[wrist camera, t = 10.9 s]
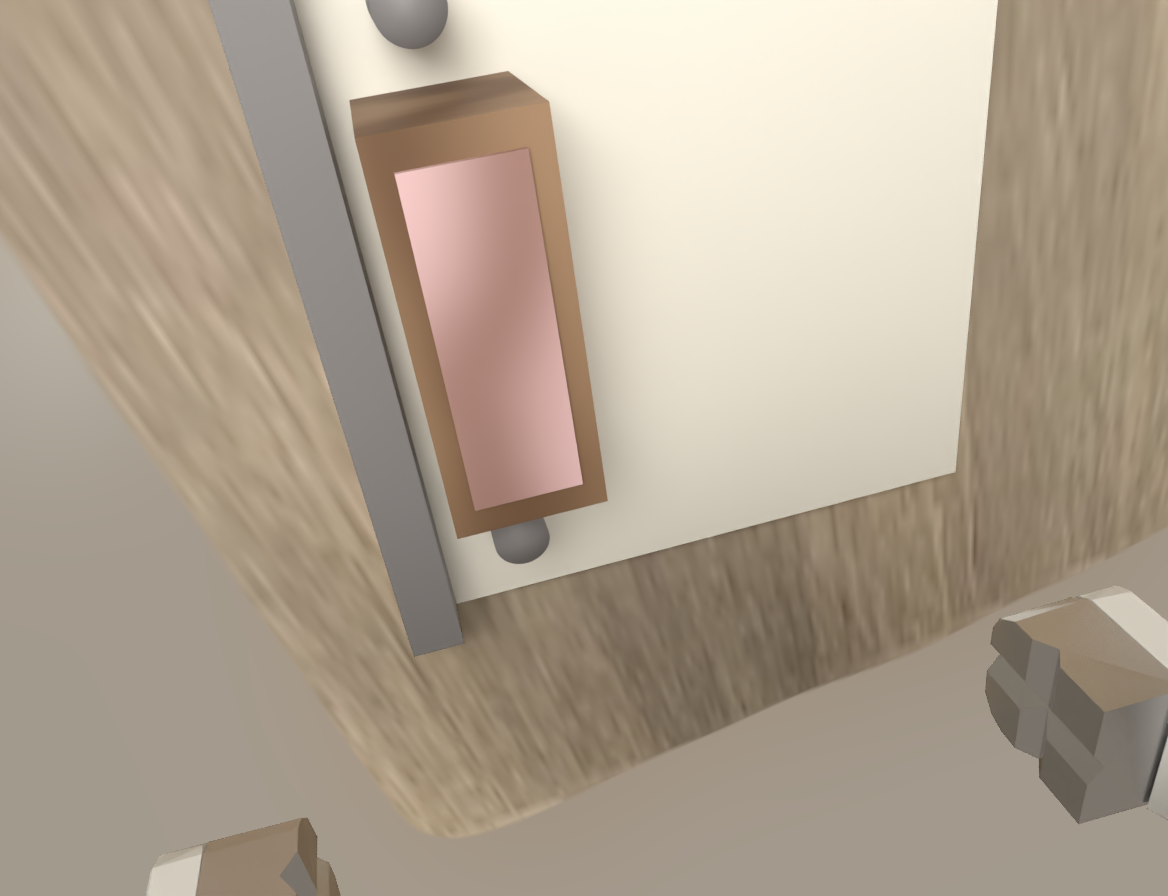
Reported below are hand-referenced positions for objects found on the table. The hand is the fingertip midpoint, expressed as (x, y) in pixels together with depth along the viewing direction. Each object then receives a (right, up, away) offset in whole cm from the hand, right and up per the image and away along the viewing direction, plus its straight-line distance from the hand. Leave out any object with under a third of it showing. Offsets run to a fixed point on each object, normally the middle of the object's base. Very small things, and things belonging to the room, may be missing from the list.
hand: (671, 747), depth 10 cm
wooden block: (-4, +8, +15) cm, 17 cm away
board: (+1, +12, +16) cm, 19 cm away
